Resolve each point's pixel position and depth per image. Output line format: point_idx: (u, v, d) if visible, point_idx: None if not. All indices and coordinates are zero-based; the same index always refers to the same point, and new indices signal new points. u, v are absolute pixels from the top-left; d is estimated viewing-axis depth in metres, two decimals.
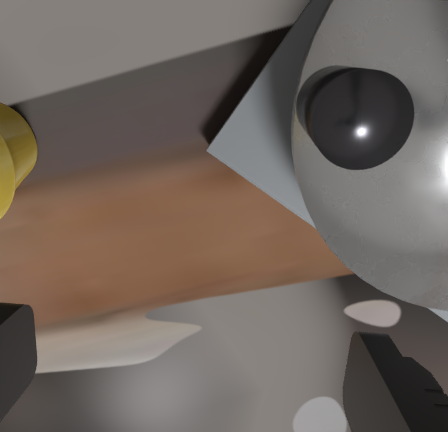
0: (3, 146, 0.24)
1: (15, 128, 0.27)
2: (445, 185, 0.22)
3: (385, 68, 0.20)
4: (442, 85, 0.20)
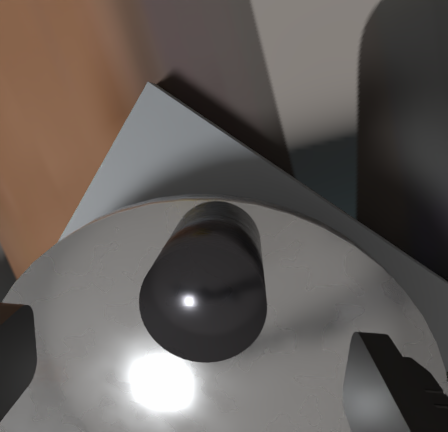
0: None
1: None
2: (135, 371, 0.20)
3: None
4: None
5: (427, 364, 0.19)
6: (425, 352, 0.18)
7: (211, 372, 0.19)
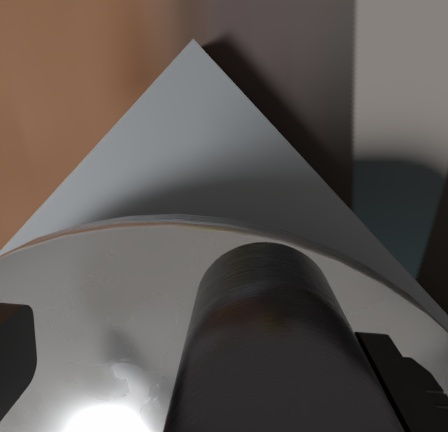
0: None
1: None
2: None
3: None
4: None
5: None
6: None
7: None
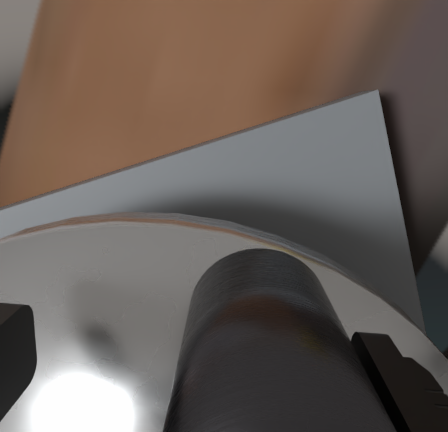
0: None
1: None
2: None
3: None
4: None
5: None
6: None
7: None
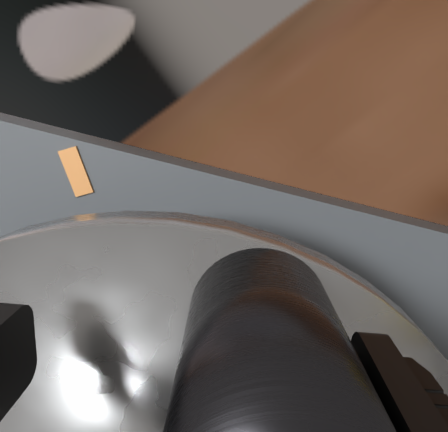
0: None
1: None
2: None
3: None
4: None
5: None
6: None
7: None
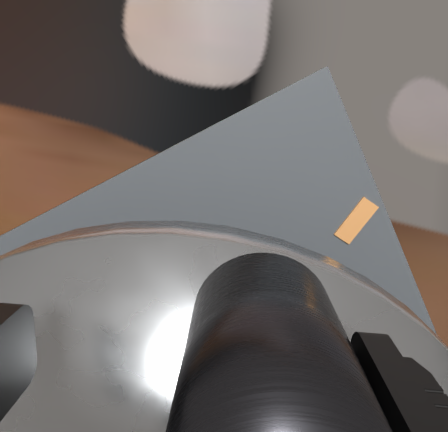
0: None
1: None
2: None
3: None
4: None
5: None
6: None
7: None
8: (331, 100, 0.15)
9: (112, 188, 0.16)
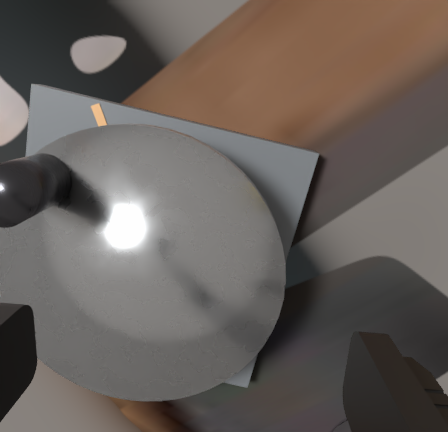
0: None
1: None
2: (76, 275, 0.32)
3: (86, 187, 0.30)
4: (108, 222, 0.30)
5: (196, 152, 0.28)
6: (188, 147, 0.28)
7: (107, 246, 0.31)
8: (44, 91, 0.33)
9: None
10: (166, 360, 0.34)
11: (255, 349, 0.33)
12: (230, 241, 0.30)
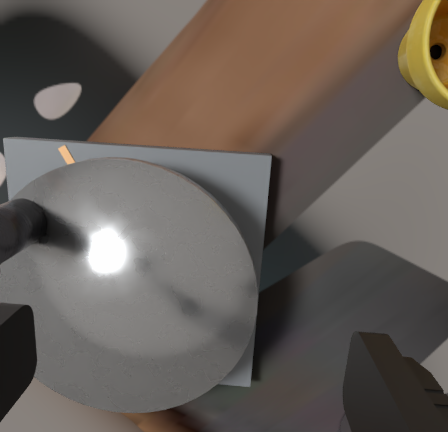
0: (423, 93, 0.29)
1: None
2: (66, 303, 0.35)
3: (60, 222, 0.33)
4: (85, 250, 0.33)
5: (151, 175, 0.31)
6: (143, 171, 0.31)
7: (89, 272, 0.34)
8: (15, 142, 0.37)
9: None
10: (162, 370, 0.36)
11: (241, 347, 0.35)
12: (197, 250, 0.33)
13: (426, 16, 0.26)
